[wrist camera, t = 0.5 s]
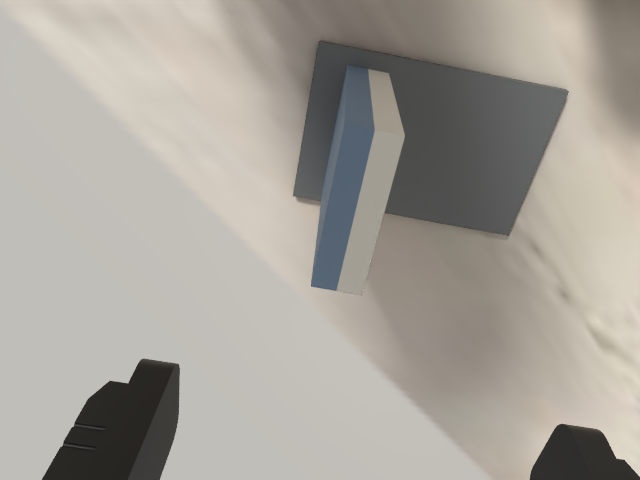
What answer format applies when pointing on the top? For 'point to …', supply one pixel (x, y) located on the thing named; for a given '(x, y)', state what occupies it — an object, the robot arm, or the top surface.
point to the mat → (440, 137)
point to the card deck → (357, 180)
